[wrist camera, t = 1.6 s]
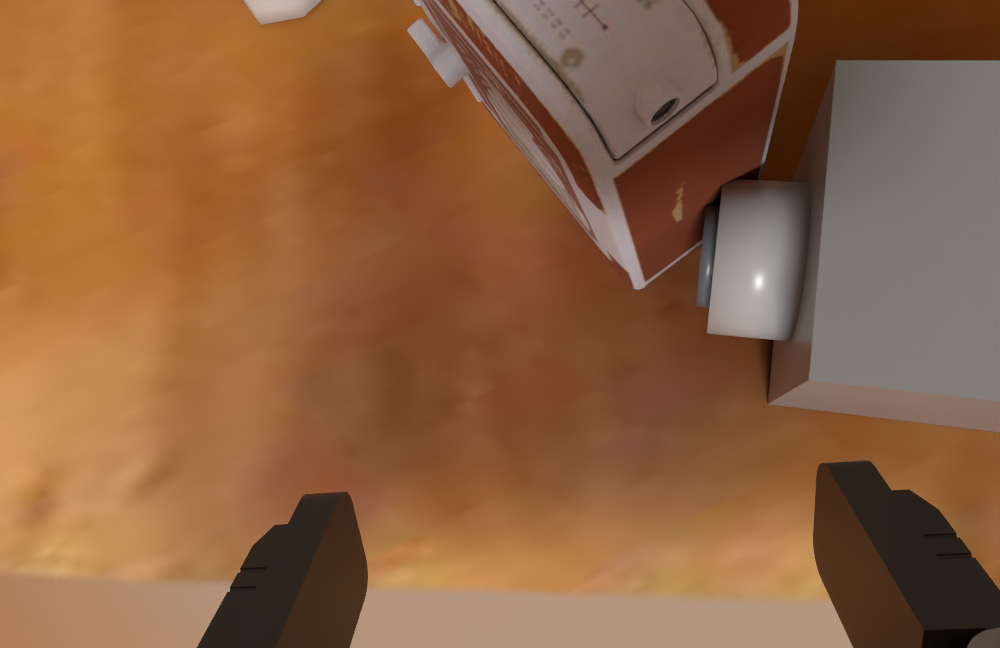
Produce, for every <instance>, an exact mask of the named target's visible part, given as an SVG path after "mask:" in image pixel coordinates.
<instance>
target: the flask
mask: <svg viewBox="0 0 1000 648" xmlns="http://www.w3.org/2000/svg"><path fill="white" fill-rule="evenodd" d="M242 1H243V2H244V4H245V5H246V6H247V8H248V9H249V10H250V11H251V13H252V14H253V15H254V17H255V18H256V19H257V20H258V22H259V23H260V24H267V23H272V22H278V21H283V20H289V19H295V18H300V17H304V16H305V15H306V14H307V13H308V12H309V11H310V10H312V9H313V8H314V7H315V6H316V5H317V4H318V3H319V2H320V1H321V0H242Z"/></svg>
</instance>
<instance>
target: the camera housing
mask: <svg viewBox="0 0 1000 648" xmlns="http://www.w3.org/2000/svg"><path fill="white" fill-rule="evenodd" d="M696 307H706V308H709V318H708V328H707V333H709V334H719V335H729V336H739V337H749V338H759V339H769V340H773V351H772V362H771V373H770V383H769V394H768V404H770V405H778V406H786V407H795V408H803V409H811V410H819V411H827V412H836V413H844V414H852V415H860V416H868V417H877V418H885V419H893V420H901V421H909V422H918V423H926V424H934V425H942V426H950V427H958V428H967V429H975V430H983V431H991V432H999V433H1000V60H836V62H835V65H834V67H833V70H832V73H831V76H830V78H829V81H828V84H827V87H826V89H825V92H824V95H823V98H822V100H821V103H820V106H819V109H818V111H817V114H816V117H815V120H814V122H813V125H812V128H811V131H810V133H809V136H808V139H807V142H806V144H805V147H804V150H803V153H802V155H801V158H800V161H799V164H798V166H797V169H796V172H795V175H794V177H793V180H792V182H787V181H765V180H742V179H738V180H733V181H730V182H727V183H725V184H723V185H722V193H721V202H720V205H707V206H706V212H705V221H704V229H703V238H702V248H701V258H700V268H699V278H698V289H697V302H696Z"/></svg>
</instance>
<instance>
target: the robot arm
mask: <svg viewBox="0 0 1000 648" xmlns="http://www.w3.org/2000/svg"><path fill="white" fill-rule="evenodd" d="M813 546H814V554H815V560H816V564H817V568H818V571H819V574H820V577H821V579H822V581H823V583H824V585H825V588H826V590H827V592H828V594H829V596H830V598H831V601H832V603H833V605H834V607H835V609H836V611H837V613H838V616H839V618H840V620H841V622H842V624H843V626H844V628H845V631H846V633H847V635H848V637H849V639H850V641H851V644H852V646H853V647H854V648H1000V590H999V589H998V587H997V586H996V585H995V583H994V582H993V581H992V579H991V578H990V577H989V576H988V574H987V573H986V572H985V570H984V569H983V568H982V566H981V565H980V564H979V562H978V561H977V560H976V558H972V556H971V552H970V550H969V549H968V548H967V547H966V545H965V544H964V543H963V541H962V540H961V539H960V538H957V536H956V532H955V531H954V529H953V528H952V527H951V525H950V524H949V523H948V521H947V520H946V519H945V517H944V516H943V515H942V514H941V512H940V511H939V510H938V509H937V508H936V507H934V506H933V505H931V504H930V503H928V502H927V501H925V500H924V499H922V498H921V497H919V496H918V495H916V494H915V493H913V492H912V491H910V490H892V491H891V489H890V488H889V486H888V485H887V483H886V482H885V481H884V479H883V478H882V476H881V475H880V473H879V472H878V470H877V469H876V467H875V466H874V465H873V464H872V463H871V462H870V461H852V462H836V463H821V464H820V465H819V467H818V470H817V478H816V496H815V514H814V531H813ZM240 569H241V572H240V573H238V574H237V576H236V577H235V579H234V581H233V583H232V585H231V586H230V592H227V594H226V596H225V597H224V599H223V601H222V603H221V605H220V607H219V608H218V610H217V612H216V614H215V616H214V617H213V619H212V621H211V623H210V625H209V627H208V628H207V630H206V632H205V634H204V636H203V637H202V639H201V641H200V643H199V645H198V647H197V648H349V647H350V644H351V641H352V638H353V635H354V631H355V628H356V625H357V622H358V619H359V615H360V612H361V609H362V606H363V603H364V599H365V596H366V591H367V582H368V570H367V561H366V556H365V552H364V548H363V544H362V540H361V536H360V532H359V527H358V523H357V519H356V515H355V511H354V507H353V503H352V500H351V497H350V495H349V494H348V493H347V492H335V493H319V494H305V495H304V496H303V497H302V498H301V500H300V501H299V503H298V505H297V507H296V509H295V511H294V513H293V515H292V517H291V519H290V521H289V523H288V524H283V525H275V526H274V527H272V528H271V529H270V530H269V531H268V532H267V533H266V534H265V535H264V536H263V537H262V538H261V539H259V540H258V541H257V542H256V543H255V544H254V545H253V546H252V548H251V550H250V552H249V554H248V556H247V557H246V559H245V561H244V563H243V565H242V566H241V568H240Z"/></svg>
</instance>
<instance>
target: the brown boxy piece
mask: <svg viewBox="0 0 1000 648" xmlns="http://www.w3.org/2000/svg"><path fill="white" fill-rule="evenodd" d="M414 2H415V3H416V5H417V6H422V8H423V10H424V11H425V13H426V14H427V16H428V18H429V19H430V21H431V22H432V24H433V26H434V27H435V29H436V30H437V32H438V34H439V35H440V37H441V38H442V40H443V42H442V41H441V40H440V39H439V38H438V37H437V36H436V35H435V33H434V32H433V31H432V30H431V28H430V27H429V26H428V25H427V23H426V22H425V21H424V20H423V19H418V20H417V21H416V22H415V23H413V24H412V25H411V26H410V27H409V28H408V32H409V34H410V35H411V37H412V38H413V39H414V40H415V42H416V43H417V44H418V46H419V47H420V48H421V50H422V51H423V52H424V53H425V55H426V56H427V57H428V60H429V62H430V63H431V64H432V66H433V67H434V69H435V70H436V71H437V73H438V74H439V75H440V77H441V78H442V79H443V80H444V82H445V83H446V84H447V85H448V87H450V88H452V87H453V86H454V85H455V84H456V83H458V82H459V81H460V80H461V79H462V78H463V79H464V80H465V82H466V84H467V85H468V87H469V88H470V90H471V91H472V93H473V95H474V96H475V98H476V99H477V101H478V102H481V101H482V103H483V104H484V106H485V107H486V108H487V110H488V111H489V113H490V114H491V115H492V116H493V118H494V119H495V120H496V121H497V123H498V124H499V125H500V126H501V128H502V129H503V130H504V131H505V133H506V134H507V135H508V136H509V138H510V139H511V140H512V141H513V143H514V144H515V145H516V146H517V147H518V149H519V150H520V151H521V152H522V154H523V155H524V156H525V157H526V159H527V160H528V161H529V162H530V164H531V165H532V166H533V167H534V169H535V170H536V171H537V172H538V174H539V175H540V176H541V177H542V179H543V180H544V181H545V182H546V184H547V185H548V186H549V187H550V189H551V190H552V191H553V192H554V194H555V195H556V196H557V197H558V199H559V200H560V201H561V202H562V204H563V205H564V206H565V207H566V209H567V210H568V211H569V212H570V214H571V215H572V216H573V217H574V218H575V220H576V221H577V222H578V223H579V225H580V226H581V227H582V228H583V230H584V231H585V232H586V233H587V235H588V236H589V237H590V238H591V240H592V241H593V242H594V243H595V245H596V246H597V247H598V248H599V250H600V251H601V252H602V253H603V255H604V256H605V257H606V258H607V260H608V261H609V262H610V263H611V265H612V266H613V267H614V268H615V270H616V271H617V272H618V273H619V274H620V276H621V277H622V278H623V279H624V280H625V281H626V282H627V283H628V284H629V285H630V286H631V287H632V288H633V289H638V290H639V289H642V288H644V287H647V286H648V285H649V284H651V283H652V282H653V281H655V280H656V279H657V278H659V277H660V276H661V275H663V274H664V273H665V272H666V271H668V270H669V269H670V268H672V267H673V266H674V265H676V264H677V263H678V262H680V261H681V260H682V259H684V258H685V257H686V256H688V255H689V254H690V253H692V252H693V251H694V250H696V249H697V248H698V247H700V246H701V245H702V238H703V229H704V221H705V212H706V206H707V205H720V202H721V193H722V185H723V184H725V183H727V182H730V181H733V180H738V179H742V180H760V179H761V176H762V172H763V168H764V163H765V159H766V155H767V151H768V147H769V143H770V139H771V134H772V130H773V126H774V122H775V118H776V114H777V110H778V105H779V101H780V97H781V93H782V89H783V85H784V81H785V76H786V72H787V68H788V64H789V60H790V56H791V52H792V48H793V43H794V39H795V33H796V26H797V20H798V0H414Z"/></svg>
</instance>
